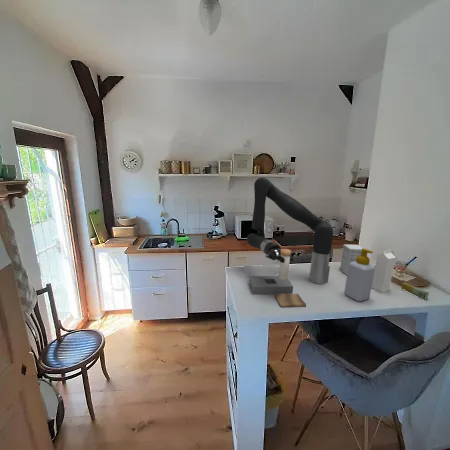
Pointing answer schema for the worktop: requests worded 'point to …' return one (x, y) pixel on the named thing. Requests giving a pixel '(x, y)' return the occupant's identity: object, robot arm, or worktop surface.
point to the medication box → (415, 290)
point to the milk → (383, 271)
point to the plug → (284, 264)
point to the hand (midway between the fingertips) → (288, 260)
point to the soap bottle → (360, 277)
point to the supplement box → (349, 256)
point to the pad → (289, 300)
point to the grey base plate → (270, 285)
